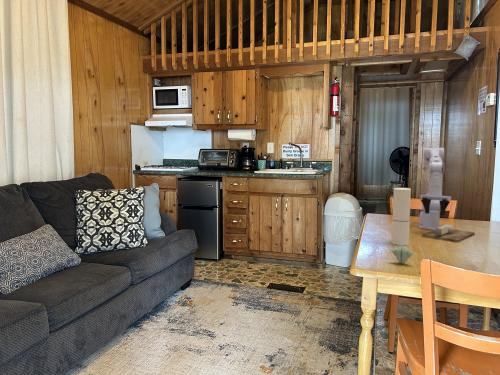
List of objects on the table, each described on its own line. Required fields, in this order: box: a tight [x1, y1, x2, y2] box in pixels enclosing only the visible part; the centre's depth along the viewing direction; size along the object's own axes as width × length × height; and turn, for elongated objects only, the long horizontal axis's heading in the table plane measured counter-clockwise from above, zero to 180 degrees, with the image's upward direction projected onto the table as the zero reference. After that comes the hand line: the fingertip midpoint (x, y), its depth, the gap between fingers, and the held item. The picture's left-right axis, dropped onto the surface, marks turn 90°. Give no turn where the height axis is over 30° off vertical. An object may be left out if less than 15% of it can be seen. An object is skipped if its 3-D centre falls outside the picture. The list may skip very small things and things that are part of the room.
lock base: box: [421, 228, 476, 243], centre depth 188 cm, size 16×22×2 cm
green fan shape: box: [390, 245, 414, 265], centre depth 144 cm, size 8×4×7 cm, turn 57°
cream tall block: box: [391, 187, 412, 246], centre depth 173 cm, size 7×7×25 cm
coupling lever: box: [435, 223, 454, 236], centre depth 185 cm, size 14×4×3 cm, turn 132°
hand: (434, 214), depth 187 cm, fingers open, 7 cm apart
